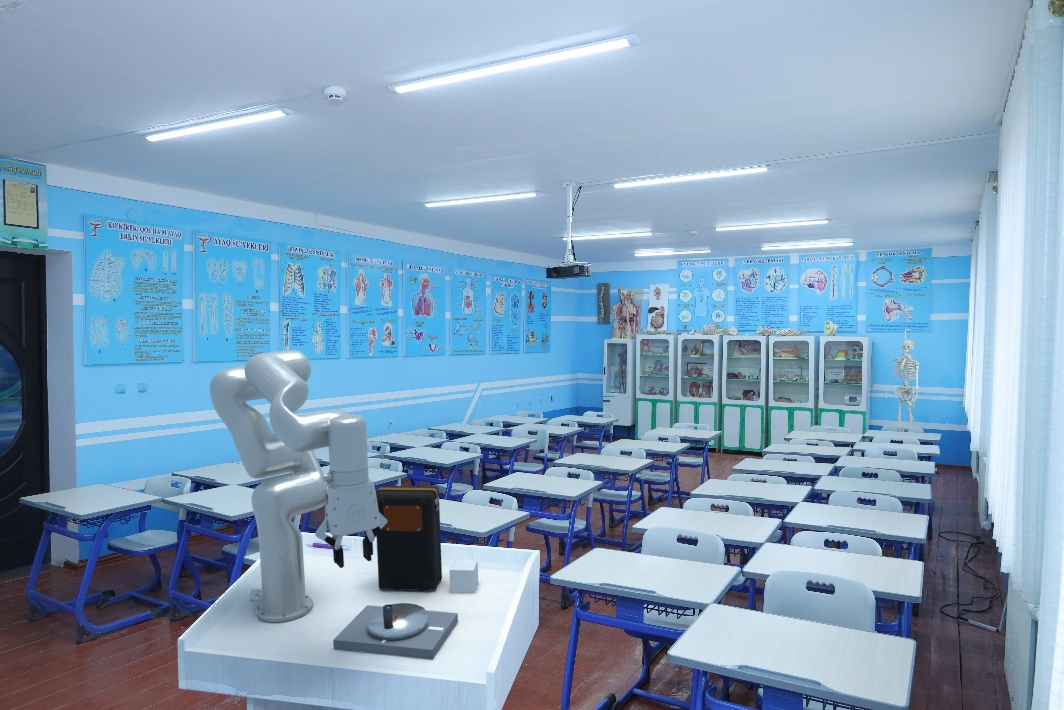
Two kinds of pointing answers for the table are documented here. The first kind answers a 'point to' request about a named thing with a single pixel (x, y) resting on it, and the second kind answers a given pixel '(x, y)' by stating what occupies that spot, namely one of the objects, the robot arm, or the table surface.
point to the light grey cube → (463, 576)
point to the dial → (397, 621)
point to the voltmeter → (409, 538)
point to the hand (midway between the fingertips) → (353, 561)
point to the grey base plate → (414, 646)
